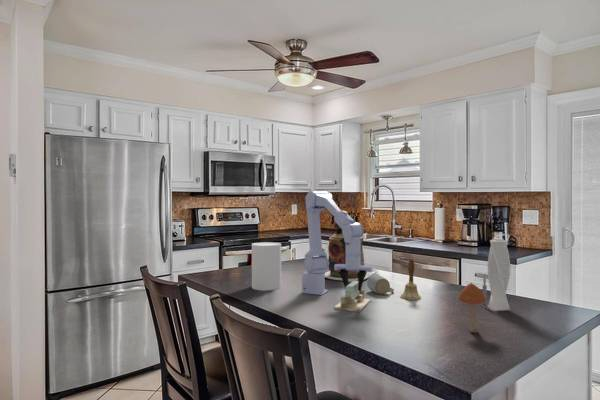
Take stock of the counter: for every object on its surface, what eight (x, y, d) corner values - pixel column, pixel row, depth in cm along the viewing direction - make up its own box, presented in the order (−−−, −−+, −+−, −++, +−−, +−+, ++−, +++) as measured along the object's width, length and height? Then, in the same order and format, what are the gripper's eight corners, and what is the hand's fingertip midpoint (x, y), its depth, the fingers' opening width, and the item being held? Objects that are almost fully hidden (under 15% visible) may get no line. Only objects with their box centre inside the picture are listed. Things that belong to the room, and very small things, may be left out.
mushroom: (453, 327, 127) (453, 280, 127) (477, 326, 128) (477, 280, 127) (466, 336, 119) (466, 286, 119) (491, 335, 120) (491, 285, 119)
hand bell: (422, 296, 166) (422, 258, 166) (419, 301, 159) (419, 261, 159) (402, 294, 170) (402, 256, 170) (398, 298, 162) (398, 259, 162)
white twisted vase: (500, 305, 153) (500, 232, 153) (515, 311, 145) (515, 234, 145) (480, 306, 152) (481, 233, 151) (494, 313, 144) (494, 235, 143)
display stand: (334, 308, 148) (334, 296, 148) (346, 298, 163) (346, 287, 163) (360, 311, 144) (360, 299, 144) (370, 301, 159) (370, 289, 159)
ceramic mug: (375, 295, 167) (376, 277, 167) (366, 291, 175) (366, 274, 175) (397, 294, 171) (398, 276, 171) (387, 290, 178) (388, 272, 178)
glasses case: (345, 300, 148) (344, 287, 148) (353, 293, 160) (353, 280, 160) (351, 301, 147) (351, 287, 147) (360, 293, 159) (359, 281, 159)
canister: (263, 292, 175) (263, 246, 174) (246, 286, 185) (246, 243, 184) (287, 287, 183) (287, 243, 183) (269, 282, 194) (269, 241, 193)
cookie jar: (337, 270, 224) (337, 213, 224) (378, 275, 210) (378, 215, 210) (313, 278, 204) (313, 215, 204) (356, 284, 190) (356, 217, 189)
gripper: (331, 254, 153) (331, 290, 153) (369, 256, 147) (369, 293, 147) (337, 252, 159) (337, 286, 159) (373, 254, 153) (373, 289, 153)
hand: (353, 289), depth 153 cm, fingers open, 5 cm apart
